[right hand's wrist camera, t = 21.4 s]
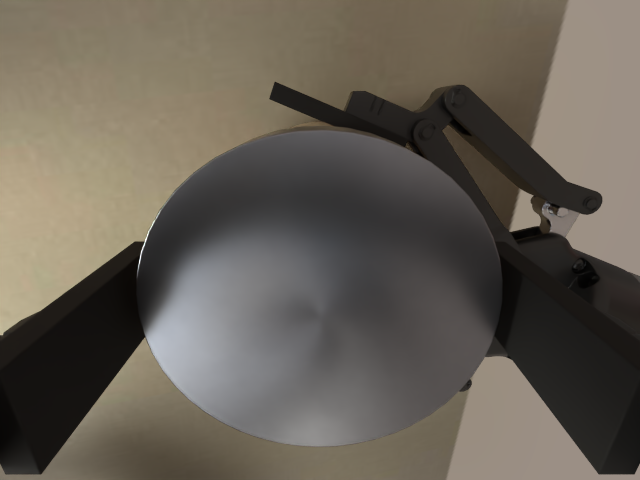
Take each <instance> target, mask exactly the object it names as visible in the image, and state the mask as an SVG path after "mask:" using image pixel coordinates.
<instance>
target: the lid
mask: <svg viewBox="0 0 640 480" xmlns="http://www.w3.org/2000/svg"><path fill="white" fill-rule="evenodd" d="M502 287H503V279H502V272H501V265H500V258H499V255H498V251H497V248H496V245H495V242H494V238H493V236H492V234H491V232H490V230H489V228H488V225H487V223H486V221H485V219H484V217H483V215H482V214H481V213H480V211H479V210H478V208H477V207H476V205H475V204H474V203H473V201H472V200H471V198H470V197H469V196H468V195H467V194H466V192H465V191H464V190H463V189H462V188H461V187H460V186H459V185H458V184H457V183H456V182H455V181H454V180H453V179H452V178H451V177H450V176H448V175H447V174H446V173H445V172H443V171H442V170H441V169H439V168H438V167H437V166H435V165H434V164H433V163H432V162H430V161H428V160H427V159H425V158H423V157H421V156H419V155H418V154H416V153H414V152H412V151H410V150H409V149H407V148H405V147H403V146H401V145H399V144H397V143H395V142H393V141H390V140H387V139H385V138H382V137H380V136H377V135H374V134H372V133H368V132H364V131H360V130H355V129H351V128H345V127H334V126H303V127H295V128H289V129H284V130H279V131H274V132H271V133H268V134H265V135H262V136H259V137H256V138H253V139H251V140H249V141H247V142H245V143H243V144H241V145H239V146H237V147H235V148H233V149H231V150H229V151H227V152H225V153H223V154H221V155H219V156H217V157H215V158H214V159H212V160H211V161H210V162H208V163H207V164H205V165H204V166H202V167H201V168H200V169H198V170H197V171H195V172H194V173H193V174H192V175H191V176H190V177H189V178H187V179H186V180H185V181H184V182H183V183H182V184H181V185H180V186H179V187H178V188H177V189H176V190H175V191H174V192H173V194H172V195H171V196H170V198H169V199H168V200H167V201H166V203H165V204H164V205H163V207H162V208H161V209H160V211H159V213H158V214H157V216H156V218H155V220H154V222H153V223H152V225H151V227H150V229H149V231H148V234H147V237H146V239H145V242H144V245H143V248H142V251H141V255H140V260H139V265H138V271H137V290H136V296H137V304H138V312H139V318H140V321H141V325H142V328H143V332H144V335H145V338H146V340H147V342H148V345H149V347H150V349H151V351H152V354H153V355H154V357H155V359H156V360H157V362H158V363H159V365H160V367H161V368H162V370H163V371H164V373H165V374H166V375H167V376H168V378H169V379H170V380H171V381H172V383H173V384H174V385H175V386H176V387H177V388H178V389H179V390H180V391H181V392H182V393H183V394H184V395H185V396H186V397H187V398H188V399H189V400H190V401H191V402H193V403H194V404H195V405H197V406H198V407H199V408H200V409H202V410H203V411H204V412H206V413H207V414H209V415H211V416H212V417H214V418H215V419H217V420H219V421H220V422H222V423H224V424H226V425H228V426H230V427H232V428H234V429H237V430H239V431H241V432H244V433H247V434H249V435H252V436H255V437H258V438H261V439H265V440H269V441H273V442H277V443H283V444H290V445H296V446H312V447H325V446H341V445H349V444H357V443H361V442H366V441H370V440H374V439H378V438H381V437H384V436H387V435H390V434H393V433H395V432H398V431H400V430H402V429H405V428H407V427H409V426H411V425H413V424H415V423H417V422H418V421H420V420H422V419H424V418H425V417H427V416H429V415H430V414H432V413H433V412H434V411H436V410H437V409H439V408H440V407H441V406H443V405H444V404H445V403H447V402H448V401H449V400H450V399H451V398H452V397H453V396H454V395H455V394H456V393H458V392H459V391H460V390H461V388H462V387H463V386H464V385H465V384H466V383H467V381H468V380H469V379H470V378H471V377H472V376H473V374H474V373H475V371H476V370H477V368H478V367H479V365H480V364H481V362H482V361H483V359H484V357H485V355H486V353H487V351H488V349H489V347H490V345H491V343H492V341H493V338H494V335H495V332H496V329H497V326H498V322H499V317H500V312H501V306H502Z"/></svg>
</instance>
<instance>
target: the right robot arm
mask: <svg viewBox="0 0 640 480" xmlns="http://www.w3.org/2000/svg"><path fill="white" fill-rule="evenodd" d="M143 245H144V242H134V243H132V244H131V245H130V246H128V247H127V248H126V249H124V250H123V251H121V252H120V253H119V254H117V255H116V256H115V257H113V258H112V259H111V260H109V261H108V262H106V263H105V264H104V265H102V266H101V267H100V268H98V269H97V270H96V271H94V272H93V273H92V274H90V275H89V276H87V277H86V278H85V279H83V280H82V281H81V282H79V283H78V284H77V285H75V286H74V287H72V288H71V289H70V290H68V291H67V292H66V293H64V294H63V295H62V296H60V297H59V298H58V299H56V300H55V301H53V302H52V303H51V304H49V305H48V306H47V307H45V308H44V309H43V310H41V311H39V312H37V313H35V314H33V315H31V316H29V317H27V318H25V319H23V320H21V321H19V322H18V323H17V324H15V325H14V326H12V327H11V328H10V329H8V330H7V331H5V332H4V334H3V335H0V464H1V466H2V468H3V470H4V472H5V474H42V473H43V471H44V470H45V469H46V467H47V466H48V465H49V463H50V462H51V461H52V459H53V458H54V457H55V455H56V454H57V453H58V451H59V450H60V449H61V447H62V446H63V445H64V443H65V442H66V441H67V439H68V438H69V437H70V435H71V434H72V433H73V432H74V430H75V429H76V428H77V426H78V425H79V424H80V422H81V421H82V420H83V418H84V417H85V416H86V414H87V413H88V412H89V410H90V409H91V408H92V406H93V405H94V404H95V402H96V401H97V400H98V398H99V397H100V396H101V394H102V393H103V392H104V391H105V389H106V388H107V387H108V385H109V384H110V383H111V381H112V380H113V379H114V377H115V376H116V375H117V373H118V372H119V371H120V369H121V368H122V367H123V365H124V364H125V363H126V361H127V360H128V359H129V357H130V356H131V355H132V353H133V352H134V351H135V349H136V348H137V347H138V346H139V344H140V343H141V342H142V340H143V339H144V338H145V335H144V332H143V328H142V325H141V321H140V318H139V312H138V304H137V296H136V290H137V271H138V265H139V260H140V255H141V251H142V248H143ZM495 245H496V248H497V251H498V255H499V258H500V265H501V272H502V279H503V287H502V306H501V312H500V317H499V322H498V326H497V329H496V332H495V335H494V336H495V338H496V339H497V340H498V342H499V343H500V344H501V346H502V347H503V348H504V349H505V351H506V352H507V353H508V355H509V356H510V357H511V359H512V360H513V361H514V363H515V364H516V365H517V367H518V368H519V369H520V371H521V372H522V373H523V375H524V376H525V377H526V379H527V380H528V381H529V383H530V384H531V385H532V387H533V388H534V389H535V390H536V392H537V393H538V394H539V396H540V397H541V398H542V400H543V401H544V402H545V404H546V405H547V406H548V408H549V409H550V410H551V412H552V413H553V414H554V416H555V417H556V418H557V420H558V421H559V422H560V424H561V425H562V426H563V428H564V429H565V430H566V432H567V433H568V434H569V435H570V437H571V438H572V439H573V441H574V442H575V443H576V445H577V446H578V447H579V449H580V450H581V451H582V453H583V454H584V455H585V457H586V458H587V459H588V461H589V462H590V463H591V465H592V466H593V467H594V469H595V470H596V471H597V473H598V474H635V472H636V470H637V468H638V466H639V464H640V334H637V331H636V330H634V329H633V328H631V327H630V326H629V325H627V324H626V323H624V322H623V321H622V320H620V319H618V318H616V317H614V316H612V315H610V314H608V313H606V312H604V311H602V310H600V309H597V308H595V307H593V306H592V305H591V304H589V303H588V302H587V301H585V300H584V299H582V298H581V297H580V296H578V295H577V294H576V293H574V292H573V291H572V290H570V289H569V288H568V287H566V286H565V285H563V284H562V283H561V282H559V281H558V280H557V279H555V278H554V277H553V276H551V275H550V274H548V273H547V272H546V271H544V270H543V269H542V268H540V267H539V266H538V265H536V264H535V263H534V262H532V261H531V260H529V259H528V258H527V257H525V256H524V255H523V254H521V253H520V252H519V251H517V250H516V249H514V248H513V247H512V246H510V245H509V244H508V243H506V242H495Z"/></svg>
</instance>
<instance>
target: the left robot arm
mask: <svg viewBox="0 0 640 480" xmlns="http://www.w3.org/2000/svg"><path fill="white" fill-rule="evenodd" d="M269 99H270V100H273V101H275V102H278V103H280V104H282V105H285V106H287V107H289V108H292V109H294V110H297V111H299V112H301V113H304V114H306V115H308V116H311V117H313V118H316V119H318V120H320V121H323V122H325V123H327V124H330V125H332V126H335V127H345V128H351V129H355V130H360V131H364V132H368V133H372V134H374V135H377V136H380V137H382V138H385V139H387V140H390V141H393V142H395V143H397V144H399V145H401V146H403V147H405V146H406V143H407V142H408V144H409V145H410V147H411V148H412V150H413V151H414V153H416V154H418V155H419V156H421V157H423V158H425V159H427V160H428V161H430V162H432V163H433V164H434V165H435V166H437V167H438V168H439V169H441V170H442V171H443V172H445V173H446V174H447V175H448V176H450V177H451V178H452V179H453V180H454V181H455V182H456V183H457V184H458V185H459V186H460V187H461V188H462V189H463V190H464V191H465V192H466V194H467V195H468V196H469V197H470V198H471V200H472V201H473V203H474V204H475V205H476V207H477V208H478V210H479V211H480V213H481V214H482V215H483V217H484V219H485V221H486V223H487V225H488V228H489V230H490V232H491V234H492V236H493V238H494V242H506V243H508V244H509V245H510V246H512V247H513V248H514V249H516V250H517V251H519V252H520V253H521V254H523V255H524V256H525V257H527V258H528V259H529V260H531V261H532V262H534V263H535V264H536V265H538V266H539V267H540V268H542V269H543V270H544V271H546V272H547V273H548V274H550V275H551V276H553V277H554V278H555V279H557V280H558V281H559V282H561V283H562V284H563V285H565V286H566V287H568V288H569V289H570V290H572V291H573V292H574V293H576V294H577V295H578V296H580V297H581V298H582V299H584V300H585V301H587V302H588V303H589V304H591V305H592V306H593V307H595V308H597V309H600V310H602V311H604V312H606V313H608V314H610V315H612V316H614V317H616V318H618V319H620V320H622V321H623V322H624V323H626V324H627V325H629V326H630V327H631V328H633V329H634V330H636V331H637V334H640V276H638V275H635V274H633V273H630V272H627V271H625V270H623V269H621V268H619V267H617V266H614V265H612V264H609V263H607V262H604V261H602V260H600V259H597V258H595V257H592V256H590V255H587V254H585V253H582V252H580V251H578V250H575V249H573V248H572V247H571V245H570V244H569V242H568V240H567V239H566V238H565V236H566V235H567V233H568V232H569V230H570V228H571V227H572V225H573V223H574V222H575V220H576V219H577V217H578V215H579V214H580V213H581V214H586V215H588V214H592V213H594V212H595V211H597V210H598V209H599V208H600V206H601V204H602V196H601V194H600V193H598V192H596V191H593V190H590V189H587V188H584V187H581V186H578V185H575V184H572V183H569V182H567V181H566V180H565V179H564V178H563V177H562V176H561V175H560V174H559V173H557V172H556V171H555V170H554V169H553V168H552V167H551V166H550V165H549V164H548V163H547V162H546V161H545V160H544V159H543V158H542V157H541V156H539V154H537V153H536V152H535V151H534V150H533V149H532V148H531V147H530V146H529V145H528V144H527V143H526V142H525V141H524V140H523V139H522V138H521V137H520V136H519V135H517V134H516V133H515V132H514V131H513V130H512V129H511V128H510V127H509V126H508V125H507V124H506V123H505V122H504V121H503V120H502V119H501V118H500V117H499V116H498V115H496V114H495V113H494V112H493V111H492V110H491V109H490V108H489V107H488V106H487V105H486V104H485V103H484V102H483V101H482V100H481V99H480V98H479V97H478V96H476V95H475V94H474V93H473V92H472V91H471V90H470V89H469V88H468V87H466V86H464V85H454V86H448V87H441V88H438V89H436V90H435V91H434V92H432V94H431V96H430V98H429V100H428V101H427V102H426V103H425V104H424V105H423V106H422V107H421V108H420V109H418V110H416V111H413V112H411V111H409V110H407V109H404V108H402V107H400V106H398V105H395V104H393V103H391V102H389V101H386V100H384V99H382V98H380V97H377V96H375V95H373V94H370V93H368V92H366V91H353V92H351V93H350V96H349V98H348V101H347V103H346V106H345V108H344V111H342V110H340V109H337V108H335V107H333V106H330V105H328V104H326V103H323V102H321V101H319V100H316V99H314V98H312V97H309V96H307V95H305V94H302V93H300V92H298V91H295V90H293V89H291V88H288V87H286V86H284V85H281V84H279V83H277V82H275V83H274V86H273V89H272V92H271V95H270V98H269ZM448 124H449V125H450V126H451V127H452V128H453V129H454V130H455V131H456V132H457V133H459V134H460V135H461V136H462V137H463V138H464V139H465V140H466V141H467V142H469V143H470V144H471V145H472V146H473V147H474V148H475V149H476V150H477V151H479V152H480V153H481V154H482V155H483V156H484V157H485V158H486V159H487V160H489V161H490V162H491V163H492V164H493V165H494V166H495V167H496V168H497V169H499V170H500V171H501V172H502V173H503V174H504V175H505V176H506V177H507V178H508V179H510V180H511V181H512V182H513V183H514V184H515V185H516V186H518V187H519V188H520V189H522V190H524V191H525V192H527V193H529V194H532V195H534V196H533V197H532V198H531V204H532V207H533V210H534V211H535V212H536V213H537V214H539V216H540V217H541V224H540V226H536V227H531V228H526V229H522V230H518V231H513V232H509V231H508V229H507V228H506V227H505V226H504V225H503V224H502V223H501V222H500V220H499V219H498V217H497V216H496V214H495V213H494V211H493V209H492V208H491V206H490V205H489V203H488V202H487V200H486V199H485V197H484V196H483V194H482V192H481V191H480V189H479V188H478V186H477V185H476V183H475V182H474V180H473V178H472V177H471V175H470V174H469V172H468V171H467V169H466V168H465V166H464V165H463V163H462V161H461V160H460V158H459V157H458V155H457V154H456V152H455V151H454V149H453V148H452V146H451V144H450V143H449V141H448V140H447V138H446V137H445V135H444V134H443V132H442V130H443V129H444V128H445V127H446V126H447V125H448ZM492 356H504V357H507V358H509V359H511V357H510V356H509V355H508V353H507V352H506V351H505V349H504V348H503V347H502V346H501V344H500V343H499V342H498V340H497V339H496V338H495V336H494V338H493V341H492V343H491V345H490V347H489V349H488V351H487V353H486V355H485V357H492ZM511 360H512V359H511ZM471 385H472V381H471V380H470V379H469V380H468V381H467V383H466V384H465V385H464V386H463V387H462V388H461V390H460V391H459V392H461V391H466V390H468V389H469V388H470V387H471Z"/></svg>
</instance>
